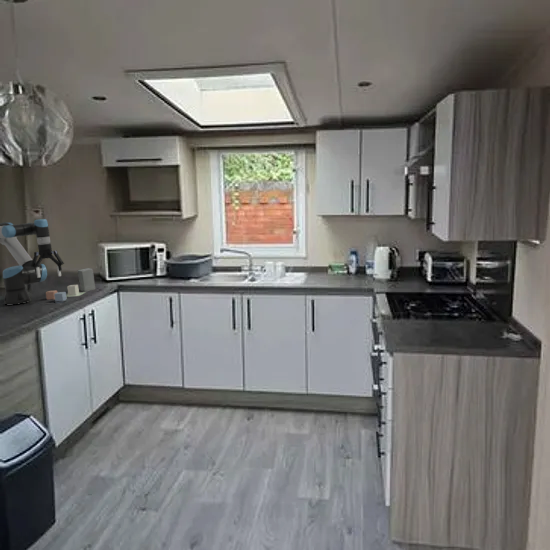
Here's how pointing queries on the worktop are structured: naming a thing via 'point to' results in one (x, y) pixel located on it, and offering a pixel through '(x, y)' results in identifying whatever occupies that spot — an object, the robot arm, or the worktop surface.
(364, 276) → the worktop surface
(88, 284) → the skincare box
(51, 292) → the brick
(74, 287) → the brick
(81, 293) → the baseplate
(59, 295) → the brick
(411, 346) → the worktop surface
